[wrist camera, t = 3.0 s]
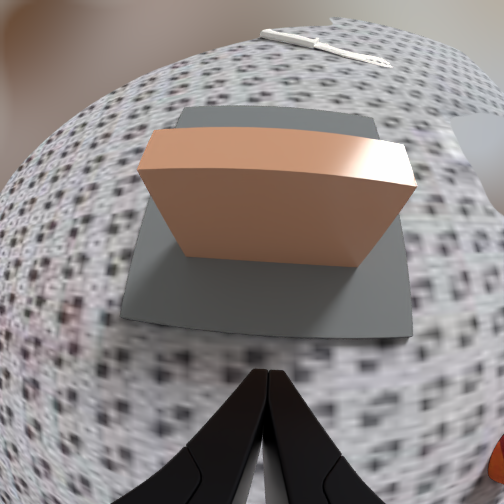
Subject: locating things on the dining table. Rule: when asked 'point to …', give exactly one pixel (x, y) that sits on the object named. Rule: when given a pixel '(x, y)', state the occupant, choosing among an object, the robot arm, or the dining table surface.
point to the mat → (270, 264)
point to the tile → (276, 192)
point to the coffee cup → (497, 462)
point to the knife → (319, 46)
